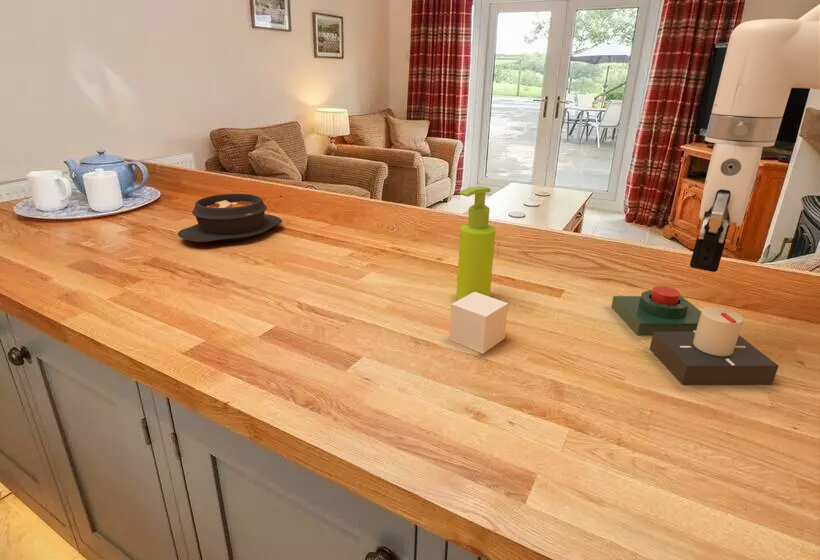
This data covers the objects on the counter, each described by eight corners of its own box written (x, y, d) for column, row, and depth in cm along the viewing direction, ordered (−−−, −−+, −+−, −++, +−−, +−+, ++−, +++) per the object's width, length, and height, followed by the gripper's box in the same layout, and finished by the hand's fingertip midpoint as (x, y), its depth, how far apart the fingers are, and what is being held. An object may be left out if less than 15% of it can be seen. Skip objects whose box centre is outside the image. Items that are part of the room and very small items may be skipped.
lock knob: (685, 338, 69) (694, 304, 67) (718, 338, 69) (729, 304, 67) (705, 356, 65) (716, 321, 63) (741, 356, 65) (752, 320, 63)
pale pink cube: (449, 340, 74) (451, 303, 72) (471, 326, 78) (474, 291, 76) (482, 354, 70) (486, 316, 68) (504, 338, 74) (508, 302, 72)
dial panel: (729, 349, 72) (735, 330, 71) (772, 385, 64) (779, 364, 63) (649, 349, 72) (653, 330, 71) (681, 385, 64) (687, 364, 63)
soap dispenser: (445, 298, 87) (450, 187, 79) (473, 289, 91) (480, 182, 83) (468, 310, 83) (475, 193, 75) (496, 300, 87) (506, 188, 79)
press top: (669, 295, 81) (672, 286, 80) (682, 306, 77) (685, 296, 77) (646, 295, 81) (648, 286, 80) (657, 306, 77) (660, 296, 77)
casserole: (204, 256, 105) (198, 218, 102) (164, 237, 116) (158, 203, 113) (298, 230, 123) (296, 197, 120) (256, 217, 134) (252, 186, 131)
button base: (679, 307, 85) (684, 286, 84) (713, 335, 76) (719, 312, 75) (611, 307, 85) (615, 286, 83) (636, 335, 76) (642, 312, 74)
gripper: (779, 140, 53) (734, 285, 60) (776, 128, 66) (740, 247, 73) (700, 134, 57) (667, 271, 63) (713, 124, 70) (684, 238, 77)
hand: (706, 258), depth 68 cm, fingers open, 9 cm apart
